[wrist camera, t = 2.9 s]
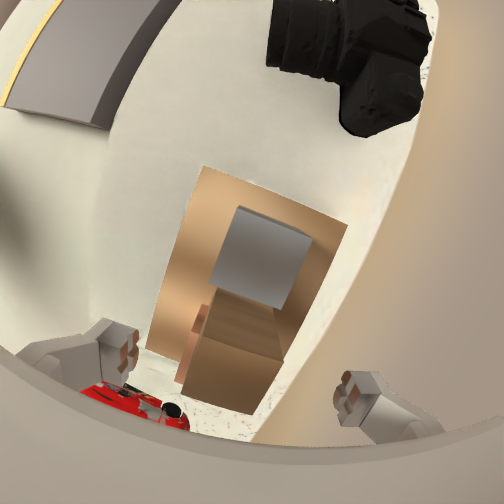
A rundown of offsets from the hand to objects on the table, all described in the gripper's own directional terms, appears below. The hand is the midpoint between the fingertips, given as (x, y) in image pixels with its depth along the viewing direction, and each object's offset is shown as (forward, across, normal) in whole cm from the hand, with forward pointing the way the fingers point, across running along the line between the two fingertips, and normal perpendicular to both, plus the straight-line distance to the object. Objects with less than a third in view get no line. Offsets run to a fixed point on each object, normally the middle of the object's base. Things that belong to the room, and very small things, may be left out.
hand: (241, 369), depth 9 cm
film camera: (+12, -2, -19) cm, 22 cm away
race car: (+12, +6, +15) cm, 20 cm away
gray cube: (+9, 0, -3) cm, 9 cm away
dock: (+11, +19, -19) cm, 29 cm away
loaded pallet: (+11, +1, 0) cm, 11 cm away
